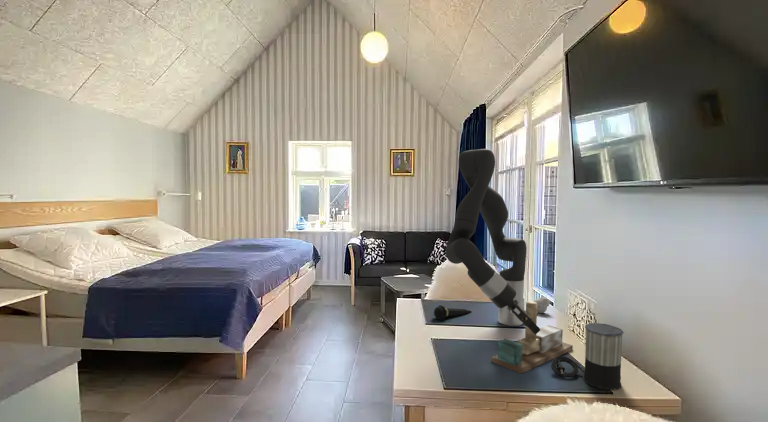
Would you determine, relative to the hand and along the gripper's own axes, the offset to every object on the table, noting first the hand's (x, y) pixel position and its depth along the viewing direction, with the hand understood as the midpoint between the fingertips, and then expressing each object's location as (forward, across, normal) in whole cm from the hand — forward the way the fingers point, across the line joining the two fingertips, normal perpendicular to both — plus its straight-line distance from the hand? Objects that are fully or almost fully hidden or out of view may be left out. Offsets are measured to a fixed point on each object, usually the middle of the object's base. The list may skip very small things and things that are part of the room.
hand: (534, 327), depth 127 cm
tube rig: (+7, +1, +6) cm, 10 cm away
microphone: (-8, +39, +22) cm, 46 cm away
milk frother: (+14, -13, -1) cm, 19 cm away
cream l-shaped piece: (+7, +3, +3) cm, 8 cm away
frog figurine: (+18, +50, -4) cm, 53 cm away
